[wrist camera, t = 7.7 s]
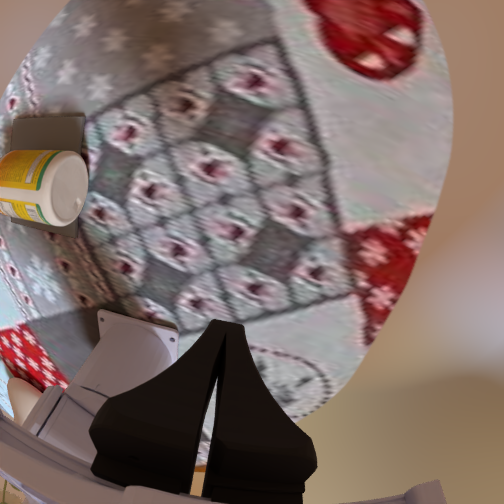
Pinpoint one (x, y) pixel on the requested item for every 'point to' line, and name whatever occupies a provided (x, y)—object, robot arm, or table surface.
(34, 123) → the mat
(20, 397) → the flower in vase
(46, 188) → the supplement bottle
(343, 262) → the table surface
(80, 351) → the table surface
